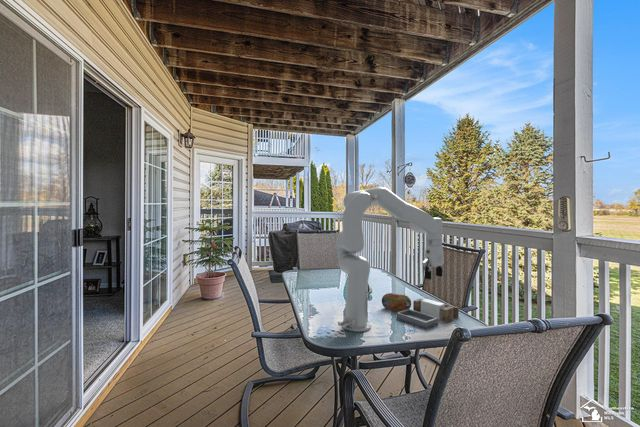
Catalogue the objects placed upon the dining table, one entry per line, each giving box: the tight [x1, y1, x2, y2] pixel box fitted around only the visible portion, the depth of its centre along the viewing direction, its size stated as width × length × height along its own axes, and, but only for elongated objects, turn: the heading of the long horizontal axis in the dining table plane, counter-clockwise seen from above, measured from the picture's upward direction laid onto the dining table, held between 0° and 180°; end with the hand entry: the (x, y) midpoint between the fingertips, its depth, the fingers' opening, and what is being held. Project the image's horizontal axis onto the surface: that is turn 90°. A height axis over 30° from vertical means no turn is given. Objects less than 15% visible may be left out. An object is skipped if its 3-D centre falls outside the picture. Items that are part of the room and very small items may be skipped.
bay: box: [412, 298, 460, 324], centre depth 155 cm, size 11×18×6 cm, turn 38°
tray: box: [396, 308, 439, 330], centre depth 145 cm, size 10×16×3 cm, turn 38°
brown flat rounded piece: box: [381, 292, 412, 312], centre depth 162 cm, size 15×3×8 cm, turn 62°
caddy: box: [420, 298, 446, 321], centre depth 153 cm, size 5×11×7 cm, turn 38°
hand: (433, 277), depth 153 cm, fingers open, 9 cm apart
